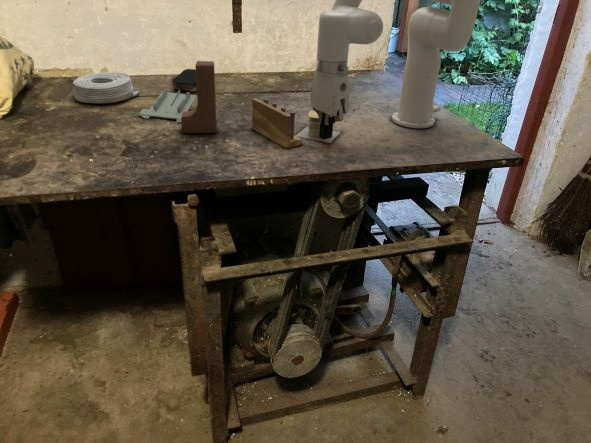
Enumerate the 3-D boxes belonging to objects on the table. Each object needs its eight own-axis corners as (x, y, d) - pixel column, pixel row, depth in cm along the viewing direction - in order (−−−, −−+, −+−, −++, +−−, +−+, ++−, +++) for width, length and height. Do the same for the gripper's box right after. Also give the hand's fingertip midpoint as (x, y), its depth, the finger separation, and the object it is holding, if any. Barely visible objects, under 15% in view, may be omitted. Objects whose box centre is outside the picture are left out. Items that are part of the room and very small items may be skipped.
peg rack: (267, 125, 136) (267, 96, 132) (301, 144, 126) (303, 113, 121) (252, 128, 134) (252, 98, 129) (286, 148, 123) (287, 116, 119)
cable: (144, 93, 157) (142, 74, 153) (114, 109, 142) (111, 88, 139) (96, 86, 160) (93, 68, 157) (62, 102, 145) (58, 82, 142)
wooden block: (182, 133, 128) (176, 64, 119) (183, 127, 132) (178, 60, 123) (216, 133, 129) (213, 65, 120) (216, 127, 133) (214, 61, 124)
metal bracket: (155, 84, 145) (202, 89, 143) (160, 101, 149) (205, 106, 147) (135, 111, 136) (185, 117, 133) (140, 128, 140) (189, 134, 138)
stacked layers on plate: (340, 132, 134) (342, 113, 132) (329, 143, 127) (331, 123, 124) (307, 125, 138) (309, 107, 135) (295, 136, 131) (296, 116, 128)
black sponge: (186, 78, 173) (186, 68, 171) (209, 80, 172) (209, 70, 170) (171, 91, 159) (169, 80, 157) (195, 93, 158) (195, 82, 156)
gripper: (364, 71, 114) (355, 144, 124) (323, 58, 124) (318, 126, 133) (340, 75, 110) (333, 150, 119) (300, 61, 120) (296, 131, 129)
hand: (325, 137), depth 126 cm, fingers closed
